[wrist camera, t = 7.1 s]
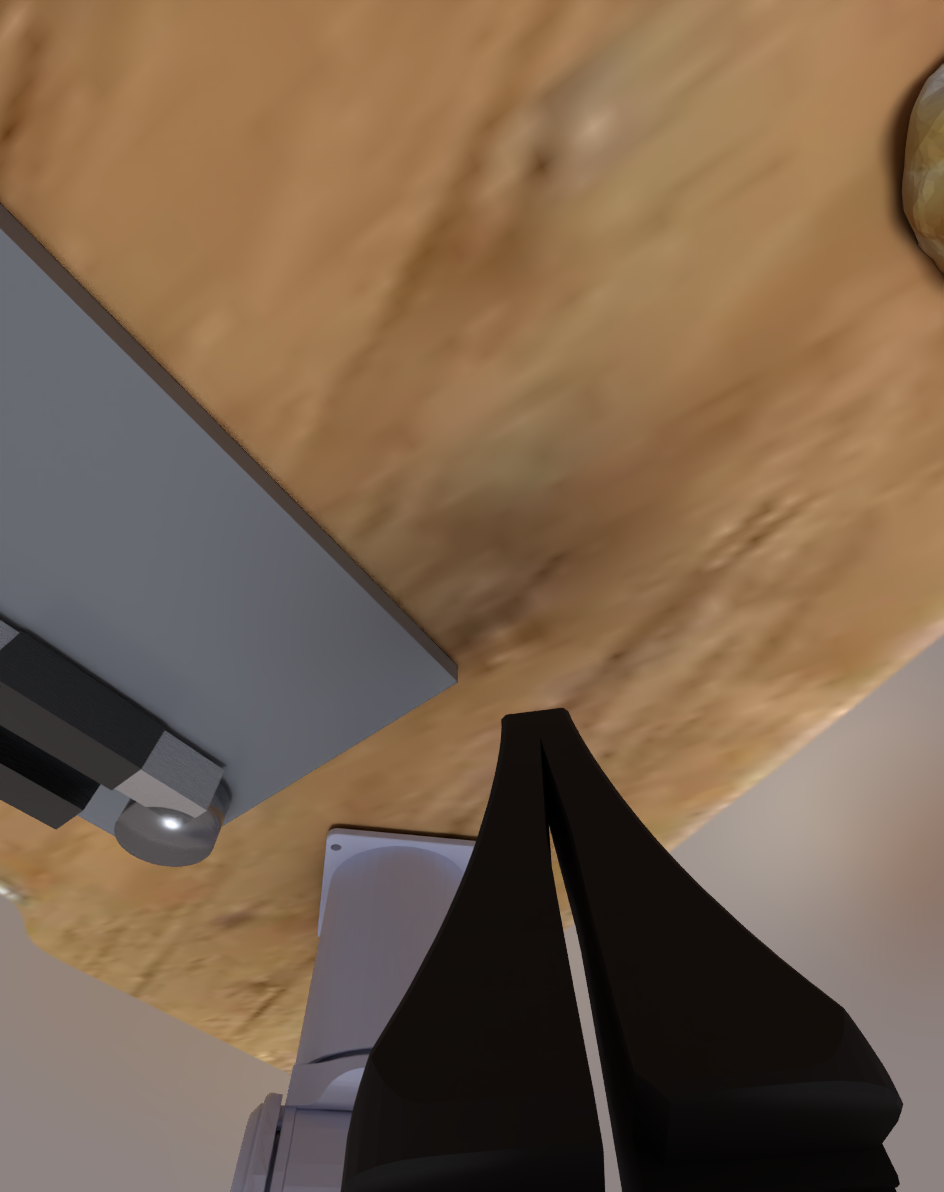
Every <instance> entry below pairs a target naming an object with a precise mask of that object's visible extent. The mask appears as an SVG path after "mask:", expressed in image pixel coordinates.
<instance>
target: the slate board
mask: <svg viewBox="0 0 944 1192" xmlns="http://www.w3.org/2000/svg"><path fill="white" fill-rule="evenodd" d="M0 620H1V621H3V622H4V623H6V624H7V625H9V626H10V627H12V628H13V629H15V630H16V631H18V632H19V633H20V632H21V631H23V632H25V633H26V634H28V635H29V636H31V637H32V638H34V639H35V640H37V641H38V642H40V643H41V644H43V645H44V646H46V647H47V648H49V649H50V650H52V651H53V652H55V653H56V654H58V655H59V656H61V657H62V658H64V659H65V660H67V661H68V662H69V663H71V664H72V665H74V666H75V667H77V668H78V669H80V670H81V671H83V672H84V673H86V674H87V675H89V676H90V677H92V678H93V679H95V680H96V681H98V682H99V683H101V684H102V685H104V686H105V687H107V688H108V689H110V690H111V691H113V692H114V693H116V694H117V695H118V696H120V697H121V698H123V699H124V700H126V701H127V702H129V703H130V704H132V705H133V706H135V707H136V708H138V709H139V710H141V711H142V712H144V713H145V714H147V715H148V716H150V717H151V718H153V719H154V720H156V721H157V722H159V723H160V724H162V725H163V726H164V727H166V729H165V731H167V732H168V733H170V734H171V735H173V736H174V737H176V738H177V739H179V740H180V741H182V742H183V743H185V744H186V745H188V746H189V747H191V748H192V749H194V750H195V751H197V752H198V753H200V754H201V755H202V756H204V757H205V758H207V759H208V760H210V761H211V762H213V763H214V764H216V765H217V766H219V767H220V768H222V769H223V770H224V773H223V775H222V777H221V779H220V783H221V784H222V785H223V786H224V788H225V789H226V790H227V792H228V794H229V797H230V807H229V809H228V812H227V814H226V817H225V819H224V822H223V824H222V826H223V825H225V824H227V823H228V822H230V821H232V820H233V819H235V818H236V817H238V816H240V815H241V814H243V813H245V812H246V811H248V810H250V809H251V808H253V807H254V806H256V805H258V804H259V803H261V802H263V801H264V800H266V799H268V798H269V797H271V796H272V795H274V794H276V793H277V792H279V791H281V790H282V789H284V788H285V787H287V786H289V785H290V784H292V783H294V782H295V781H297V780H299V779H300V778H302V777H303V776H305V775H307V774H308V773H310V772H312V771H313V770H315V769H317V768H318V767H320V766H321V765H323V764H325V763H326V762H328V761H330V760H331V759H333V758H335V757H336V756H338V755H339V754H341V753H343V752H344V751H346V750H348V749H349V748H351V747H353V746H354V745H356V744H357V743H359V742H361V741H362V740H364V739H366V738H367V737H369V736H371V735H372V734H374V733H375V732H377V731H379V730H380V729H382V728H384V727H385V726H387V725H389V724H390V723H392V722H393V721H395V720H397V719H398V718H400V717H402V716H403V715H405V714H407V713H408V712H410V711H411V710H413V709H415V708H416V707H418V706H420V705H421V704H423V703H425V702H426V701H428V700H429V699H431V698H433V697H434V696H436V695H438V694H439V693H441V692H442V691H444V690H446V689H447V688H449V687H451V686H452V685H454V684H456V683H457V682H458V668H457V665H456V664H455V663H454V662H453V661H452V660H451V659H450V658H449V657H448V656H447V655H446V654H445V653H444V652H443V651H442V650H441V649H440V648H439V647H438V646H437V645H436V644H435V643H434V642H433V641H432V640H431V639H430V638H429V637H428V636H427V635H426V634H425V633H424V632H423V631H422V630H421V629H420V628H419V627H418V626H417V625H416V624H415V623H414V622H413V621H412V620H411V619H410V618H409V617H408V616H407V615H406V614H405V613H404V612H403V611H402V610H401V609H400V607H399V606H398V605H397V604H396V603H395V602H394V601H393V600H392V599H391V598H390V597H389V596H388V595H387V594H386V593H385V592H384V591H383V590H382V589H381V588H380V587H379V586H378V585H377V584H376V583H375V582H374V581H373V580H372V579H371V578H370V577H369V576H368V575H367V574H366V573H365V572H364V571H363V570H362V569H361V568H360V567H359V566H358V565H357V564H356V563H355V562H354V561H353V560H352V559H351V558H350V557H349V556H348V555H347V554H346V553H345V552H344V551H343V550H342V549H341V548H340V547H339V546H338V545H337V544H336V543H335V542H334V541H333V540H332V539H331V538H330V537H329V536H328V535H327V534H326V533H325V532H324V531H323V530H322V529H321V528H320V527H319V526H318V525H317V524H316V523H315V522H314V520H313V519H312V518H311V517H310V516H309V515H308V514H307V513H306V512H305V511H304V510H303V509H302V508H301V507H300V506H299V505H298V504H297V503H296V502H295V501H294V500H293V499H292V498H291V497H290V496H289V495H288V494H287V493H286V492H285V491H284V490H283V489H282V488H281V487H280V486H279V485H278V484H277V483H276V482H275V481H274V480H273V479H272V478H271V477H270V476H269V475H268V474H267V473H266V472H265V471H264V470H263V469H262V468H261V467H260V466H259V465H258V464H257V463H256V462H255V461H254V460H253V459H252V458H251V457H250V456H249V455H248V454H247V453H246V452H245V451H244V450H243V449H242V448H241V447H240V446H239V445H238V444H237V443H236V442H235V441H234V440H233V439H232V438H231V437H230V436H229V435H228V433H227V432H226V431H225V430H224V429H223V428H222V427H221V426H220V425H219V424H218V423H217V422H216V421H215V420H214V419H213V418H212V417H211V416H210V415H209V414H208V413H207V412H206V411H205V410H204V409H203V408H202V407H201V406H200V405H199V404H198V403H197V402H196V401H195V400H194V399H193V398H192V397H191V396H190V395H189V394H188V393H187V392H186V391H185V390H184V389H183V388H182V387H181V386H180V385H179V384H178V383H177V382H176V381H175V380H174V379H173V378H172V377H171V376H170V375H169V374H168V373H167V372H166V371H165V370H164V369H163V368H162V367H161V366H160V365H159V364H158V363H157V362H156V361H155V360H154V359H153V358H152V357H151V356H150V355H149V354H148V353H147V352H146V351H145V350H144V349H143V348H142V346H141V345H140V344H139V343H138V342H137V341H136V340H135V339H134V338H133V337H132V336H131V335H130V334H129V333H128V332H127V331H126V330H125V329H124V328H123V327H122V326H121V325H120V324H119V323H118V322H117V321H116V320H115V319H114V318H113V317H112V316H111V315H110V314H109V313H108V312H107V311H106V310H105V309H104V308H103V307H102V306H101V305H100V304H99V303H98V302H97V301H96V300H95V299H94V298H93V297H92V296H91V295H90V294H89V293H88V292H87V291H86V290H85V289H84V288H83V287H82V286H81V285H80V284H79V283H78V282H77V281H76V280H75V279H74V278H73V277H72V276H71V275H70V274H69V273H68V272H67V271H66V270H65V269H64V268H63V267H62V266H61V265H60V264H59V263H58V262H57V261H56V259H55V258H54V257H53V256H52V255H51V254H50V253H49V252H48V251H47V250H46V249H45V248H44V247H43V246H42V245H41V244H40V243H39V242H38V241H37V240H36V239H35V238H34V237H33V236H32V235H31V234H30V233H29V232H28V231H27V230H26V229H25V228H24V227H23V226H22V225H21V224H20V223H19V222H18V221H17V220H16V219H15V218H14V217H13V216H12V215H11V214H10V213H9V212H8V211H7V210H6V209H5V208H4V207H3V206H2V205H1V204H0ZM129 799H130V797H128V796H126V795H124V794H123V793H121V792H119V791H118V790H116V789H113V790H110V789H108V788H107V787H105V786H103V785H100V786H99V788H98V789H97V791H96V792H95V794H94V795H93V797H92V798H91V800H90V801H89V803H88V804H87V806H86V807H85V809H84V810H83V811H82V812H80V813H79V814H78V816H79V817H81V818H83V819H85V820H87V821H88V822H90V823H92V824H94V825H95V826H97V827H99V828H101V829H103V830H104V831H106V832H108V833H110V834H112V835H113V836H115V833H114V827H115V823H116V821H117V820H118V818H119V816H120V815H121V813H122V811H123V809H124V808H125V806H126V804H127V803H128V801H129Z"/></svg>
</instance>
